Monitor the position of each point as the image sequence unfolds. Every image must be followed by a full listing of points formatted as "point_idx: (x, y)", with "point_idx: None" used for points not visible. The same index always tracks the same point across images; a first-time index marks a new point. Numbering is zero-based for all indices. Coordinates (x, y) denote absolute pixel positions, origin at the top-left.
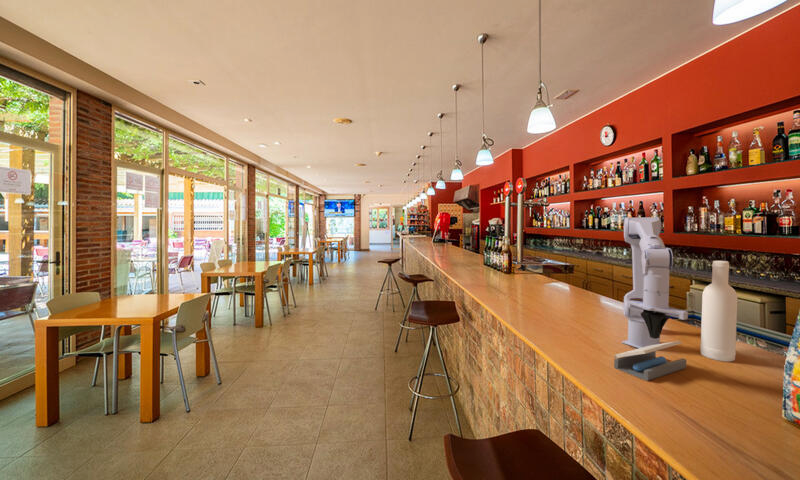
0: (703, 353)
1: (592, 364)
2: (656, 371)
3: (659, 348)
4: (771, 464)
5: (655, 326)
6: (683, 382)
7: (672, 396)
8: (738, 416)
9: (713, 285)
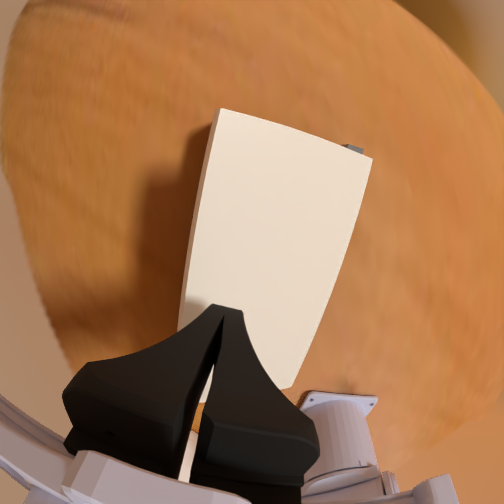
0: (194, 436)
1: (413, 126)
2: None
3: (187, 253)
4: (26, 14)
5: (173, 341)
6: (146, 213)
7: (140, 75)
8: (39, 116)
9: None
